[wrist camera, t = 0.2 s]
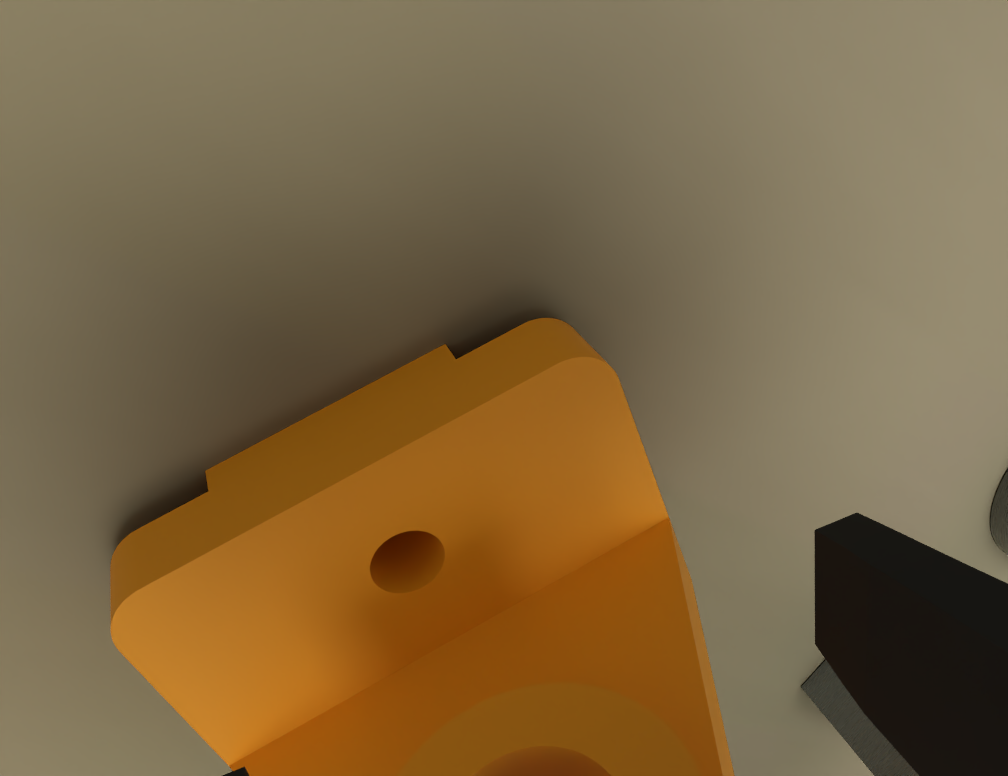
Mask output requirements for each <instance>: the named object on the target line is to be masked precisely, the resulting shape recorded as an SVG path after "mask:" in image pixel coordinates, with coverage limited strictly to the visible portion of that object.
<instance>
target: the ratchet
mask: <svg viewBox="0 0 1008 776" xmlns="http://www.w3.org/2000/svg"><path fill="white" fill-rule="evenodd" d="M991 532H992V536H993V538H994V541H995V542H996V544H997V546H998V547H999V548H1000V549H1001V550H1002V551H1004V552H1005V553H1006V554H1007V555H1008V471H1007V472H1006V474H1005V476H1004V477H1003V479H1002V481H1001V483H1000V485H999V488H998V490H997V493H996V495H995V498H994V502H993V506H992V511H991Z"/></svg>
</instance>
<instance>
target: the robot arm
mask: <svg viewBox="0 0 1008 776" xmlns="http://www.w3.org/2000/svg"><path fill="white" fill-rule="evenodd" d="M815 644H816V646H817V647H818V649H819V650H820V652H821V653H822V655H823V656H824V657H825V659H826V660H827V662H828V663H829V665H830V666H831V668H832V669H833V671H834V672H835V674H836V675H837V676H838V678H839V679H840V681H841V682H842V684H843V685H844V686H845V688H846V689H847V691H848V692H849V693H850V695H851V696H852V697H853V699H854V700H855V702H856V703H857V704H858V706H859V707H860V708H861V710H862V711H863V713H864V714H865V715H866V716H867V717H868V719H869V720H870V721H871V722H872V723H873V724H874V725H875V727H876V728H877V729H878V730H879V731H880V732H881V733H882V735H883V736H884V737H885V738H886V739H887V740H888V741H889V742H890V743H891V745H892V746H893V747H894V748H895V749H896V750H897V751H898V752H899V754H900V755H901V756H902V757H903V758H904V759H905V760H906V761H907V763H908V764H909V765H910V766H911V767H912V768H913V769H914V770H915V771H916V773H917V774H918V775H919V776H1008V584H1007V583H1005V582H1003V581H1001V580H999V579H996V578H994V577H992V576H990V575H988V574H986V573H984V572H981V571H979V570H977V569H975V568H973V567H971V566H969V565H967V564H964V563H962V562H960V561H958V560H956V559H954V558H952V557H950V556H948V555H945V554H943V553H941V552H939V551H937V550H935V549H933V548H931V547H929V546H927V545H924V544H922V543H920V542H918V541H916V540H914V539H912V538H910V537H908V536H906V535H904V534H902V533H899V532H897V531H895V530H893V529H891V528H889V527H887V526H885V525H883V524H881V523H878V522H876V521H874V520H872V519H870V518H868V517H865V516H863V515H861V514H859V513H855V514H852V515H850V516H848V517H845V518H843V519H840V520H838V521H835V522H833V523H831V524H828V525H826V526H823V527H821V528H819V529H816V530H815ZM223 776H249V774H248V772H247V770H246V768H245V766H244V767H242V768H240V769H237V770H235V771H232V772H230V773H228V774H225V775H223Z"/></svg>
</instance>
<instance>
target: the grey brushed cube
mask: <svg viewBox="0 0 1008 776" xmlns="http://www.w3.org/2000/svg"><path fill="white" fill-rule="evenodd" d="M801 688H802V689H803V690H804V691H805V692H806V694H807V695H808V696H809V697H810V698H811V700H812V701H813V702H814V703H815V705H816V706H817V707H818V708H819V709H820V711H821V712H822V713H823V714H824V715H825V717H826V718H827V719H828V720H829V721H830V723H831V724H832V725H833V726H834V727H835V729H836V730H837V731H838V732H839V734H840V735H841V736H842V737H843V738H844V740H845V741H846V742H847V743H848V744H849V746H850V747H851V748H852V749H853V750H854V752H855V753H856V754H857V755H858V756H859V758H860V759H861V760H862V761H863V763H864V764H865V765H866V766H867V767H868V769H869V770H870V771H871V772H872V773H873V775H874V776H919V775H918V774H917V773H916V771H915V770H914V769H913V768H912V767H911V766H910V765H909V764H908V763H907V761H906V760H905V759H904V758H903V757H902V756H901V755H900V754H899V752H898V751H897V750H896V749H895V748H894V747H893V746H892V745H891V743H890V742H889V741H888V740H887V739H886V738H885V737H884V736H883V735H882V733H881V732H880V731H879V730H878V729H877V728H876V727H875V725H874V724H873V723H872V722H871V721H870V720H869V719H868V717H867V716H866V715H865V714H864V713H863V711H862V710H861V708H860V707H859V706H858V704H857V703H856V702H855V700H854V699H853V697H852V696H851V695H850V693H849V692H848V691H847V689H846V688H845V686H844V685H843V684H842V682H841V681H840V679H839V678H838V676H837V675H836V674H835V672H834V671H833V669H832V668H831V666H830V665H829V663H828V662H827V660H825V661H824V662H823V663H822V664H821V666H820V667H819V668H818V669H817V670H816V671H815V672H814V673H813V674H812V676H811V677H810V678H809V679H808V680H807V681H806V682H805V683H804V684H803V685H802V687H801Z"/></svg>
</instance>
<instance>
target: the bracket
mask: <svg viewBox="0 0 1008 776" xmlns="http://www.w3.org/2000/svg"><path fill="white" fill-rule="evenodd" d="M205 473H206V479H207V485H208V492H206V493H204V494H202V495H201V496H199V497H197V498H195V499H193V500H191V501H189V502H187V503H186V504H184V505H182V506H180V507H178V508H176V509H174V510H172V511H171V512H169V513H167V514H165V515H163V516H161V517H159V518H157V519H155V520H154V521H152V522H150V523H148V524H146V525H144V526H142V527H140V528H139V529H137V530H135V531H133V532H132V533H130V534H129V535H128V536H126V537H125V538H124V539H123V540H122V541H121V542H120V544H119V545H118V546H117V548H116V549H115V551H114V553H113V556H112V559H111V568H110V572H111V636H112V640H113V642H114V644H115V646H116V648H117V649H118V650H119V651H120V652H121V653H122V654H123V655H124V657H125V658H126V659H127V660H128V661H129V662H130V663H131V664H132V665H133V666H134V667H135V668H136V669H137V670H138V671H139V672H140V673H141V674H142V675H143V676H144V677H145V679H146V680H147V681H148V682H149V683H150V684H151V685H152V686H153V687H154V688H155V689H156V690H157V691H158V692H159V693H160V694H161V695H162V696H163V697H164V698H165V699H166V700H167V702H168V703H169V704H170V705H171V706H172V707H173V708H174V709H175V710H176V711H177V712H178V713H179V714H180V715H181V716H182V717H183V718H184V719H185V720H186V721H187V722H188V724H189V725H190V726H191V727H192V728H193V729H194V730H195V731H196V732H197V733H198V734H199V735H200V736H201V737H202V738H203V739H204V740H205V741H206V742H207V743H208V744H209V746H210V747H211V748H212V749H213V750H214V751H215V752H216V753H217V754H218V755H219V756H220V757H221V758H222V759H223V760H224V761H225V762H226V763H227V764H228V765H229V767H230V768H231V769H232V771H235V770H237V769H240V768H242V767H244V766H245V768H246V770H247V772H248V774H249V776H734V772H733V767H732V762H731V758H730V753H729V749H728V744H727V740H726V735H725V730H724V726H723V721H722V717H721V712H720V708H719V703H718V698H717V694H716V689H715V685H714V680H713V676H712V671H711V666H710V662H709V657H708V653H707V648H706V644H705V639H704V634H703V630H702V625H701V621H700V616H699V612H698V607H697V602H696V598H695V593H694V589H693V584H692V580H691V577H690V574H689V572H688V569H687V566H686V563H685V560H684V558H683V555H682V552H681V549H680V547H679V544H678V541H677V538H676V536H675V533H674V530H673V527H672V524H671V522H670V519H669V516H668V513H667V511H666V508H665V505H664V502H663V500H662V497H661V494H660V491H659V489H658V486H657V483H656V480H655V477H654V475H653V472H652V469H651V466H650V464H649V461H648V458H647V455H646V453H645V450H644V447H643V444H642V441H641V439H640V436H639V433H638V430H637V428H636V425H635V422H634V419H633V417H632V414H631V411H630V408H629V405H628V403H627V400H626V397H625V394H624V392H623V389H622V386H621V383H620V381H619V378H618V376H617V374H616V372H615V371H614V370H613V368H612V367H611V366H610V365H609V364H608V363H607V362H606V361H605V360H604V359H603V358H602V357H601V356H600V355H599V354H598V353H597V352H596V351H595V350H594V349H593V348H592V347H591V346H590V345H589V344H588V343H587V342H586V341H585V340H584V339H583V338H582V337H581V336H580V335H579V334H578V333H577V332H576V331H575V330H574V329H573V328H572V327H571V326H570V325H569V324H567V323H566V322H564V321H561V320H558V319H554V318H539V319H534V320H531V321H528V322H526V323H524V324H522V325H520V326H518V327H516V328H514V329H512V330H510V331H509V332H507V333H505V334H503V335H501V336H499V337H497V338H495V339H494V340H492V341H490V342H488V343H486V344H484V345H482V346H480V347H479V348H477V349H475V350H473V351H471V352H469V353H467V354H465V355H463V356H462V357H460V358H458V359H455V357H454V356H453V354H452V353H451V351H450V350H449V349H448V347H447V346H446V344H444V345H442V346H440V347H438V348H436V349H434V350H433V351H431V352H429V353H427V354H425V355H423V356H421V357H419V358H417V359H416V360H414V361H412V362H410V363H408V364H406V365H404V366H402V367H400V368H399V369H397V370H395V371H393V372H391V373H389V374H387V375H385V376H383V377H382V378H380V379H378V380H376V381H374V382H372V383H370V384H368V385H366V386H365V387H363V388H361V389H359V390H357V391H355V392H353V393H351V394H349V395H348V396H346V397H344V398H342V399H340V400H338V401H336V402H334V403H332V404H331V405H329V406H327V407H325V408H323V409H321V410H319V411H317V412H315V413H314V414H312V415H310V416H308V417H306V418H304V419H302V420H300V421H298V422H297V423H295V424H293V425H291V426H289V427H287V428H285V429H283V430H281V431H280V432H278V433H276V434H274V435H272V436H270V437H268V438H266V439H264V440H263V441H261V442H259V443H257V444H255V445H253V446H251V447H249V448H247V449H245V450H244V451H242V452H240V453H238V454H236V455H234V456H232V457H230V458H228V459H227V460H225V461H223V462H221V463H219V464H217V465H215V466H213V467H211V468H210V469H208V470H206V471H205Z"/></svg>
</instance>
